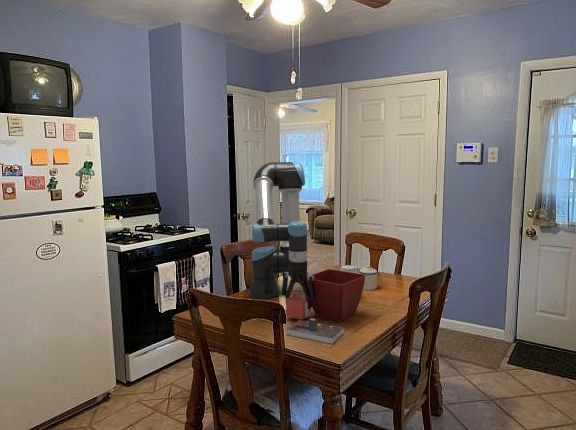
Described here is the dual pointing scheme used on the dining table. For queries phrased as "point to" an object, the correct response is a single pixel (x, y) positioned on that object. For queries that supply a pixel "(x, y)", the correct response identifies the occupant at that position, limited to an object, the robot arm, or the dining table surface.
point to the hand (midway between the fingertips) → (298, 314)
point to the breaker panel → (315, 332)
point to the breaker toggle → (312, 324)
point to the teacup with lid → (369, 278)
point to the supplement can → (349, 268)
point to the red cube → (296, 307)
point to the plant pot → (337, 293)
